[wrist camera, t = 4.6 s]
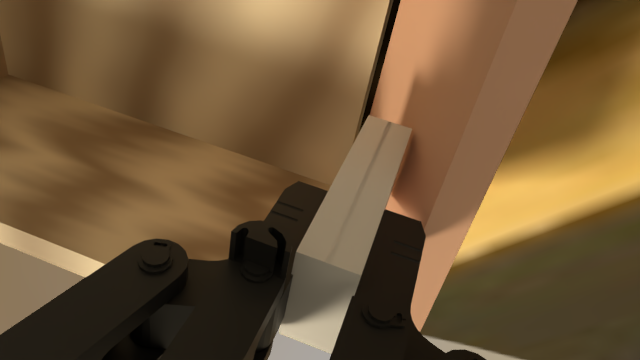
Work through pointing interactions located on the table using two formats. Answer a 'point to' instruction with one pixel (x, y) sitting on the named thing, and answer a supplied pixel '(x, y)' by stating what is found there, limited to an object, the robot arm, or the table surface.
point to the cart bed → (172, 117)
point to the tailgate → (458, 111)
